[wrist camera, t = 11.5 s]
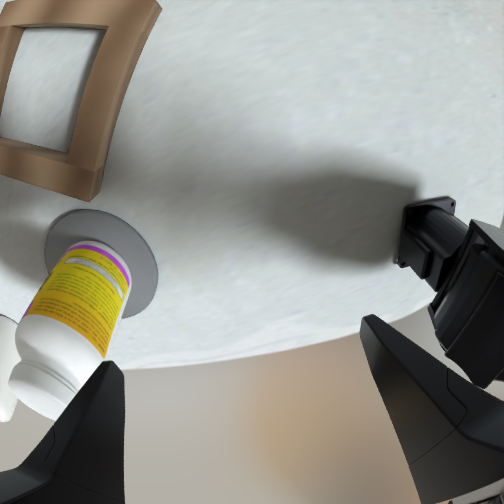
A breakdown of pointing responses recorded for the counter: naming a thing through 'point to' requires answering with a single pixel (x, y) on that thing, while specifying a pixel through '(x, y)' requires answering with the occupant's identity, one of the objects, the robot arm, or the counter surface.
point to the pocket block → (95, 94)
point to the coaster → (116, 237)
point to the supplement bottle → (69, 327)
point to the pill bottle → (7, 367)
